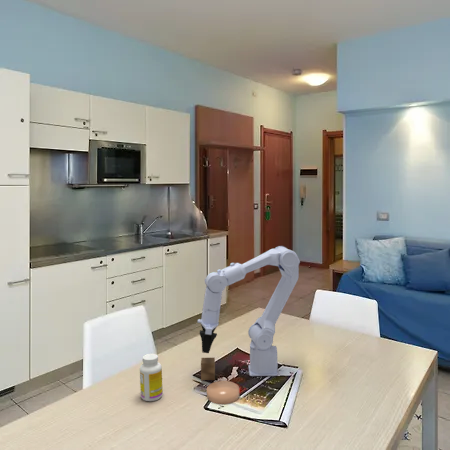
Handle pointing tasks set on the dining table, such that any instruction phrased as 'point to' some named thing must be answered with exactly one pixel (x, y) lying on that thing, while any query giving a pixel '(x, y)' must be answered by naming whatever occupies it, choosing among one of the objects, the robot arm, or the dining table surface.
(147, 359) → the supplement bottle
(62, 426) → the dining table surface
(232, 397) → the tan round disc
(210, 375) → the walnut block
